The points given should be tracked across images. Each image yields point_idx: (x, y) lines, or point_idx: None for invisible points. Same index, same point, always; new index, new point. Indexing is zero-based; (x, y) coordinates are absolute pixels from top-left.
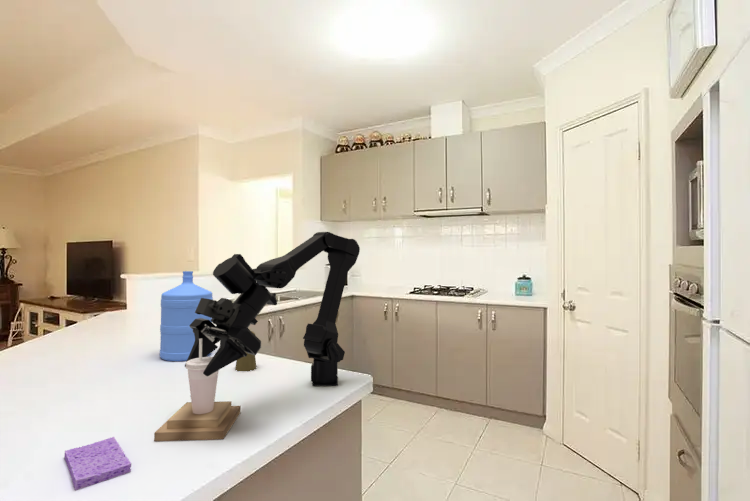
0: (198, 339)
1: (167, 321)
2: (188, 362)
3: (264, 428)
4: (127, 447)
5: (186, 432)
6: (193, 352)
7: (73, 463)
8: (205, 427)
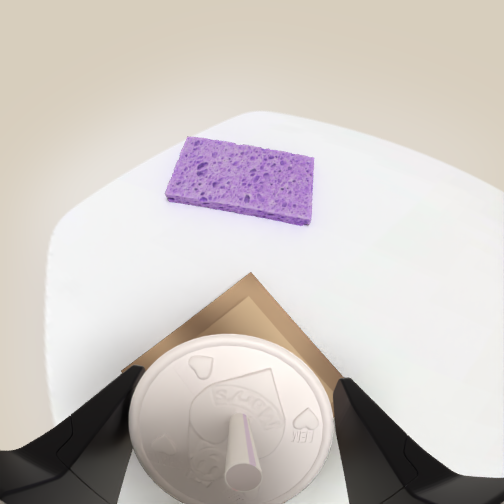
0: (423, 494)
1: None
2: (280, 363)
3: None
4: (267, 233)
5: (189, 319)
6: (369, 435)
7: (250, 148)
8: None
